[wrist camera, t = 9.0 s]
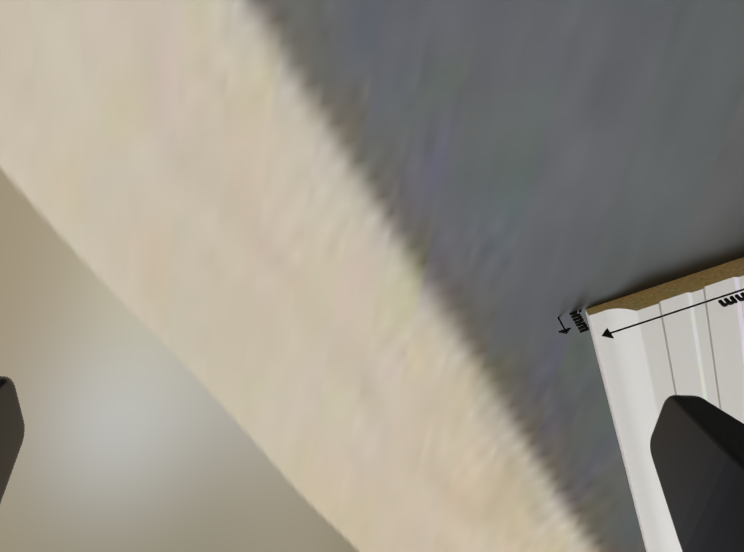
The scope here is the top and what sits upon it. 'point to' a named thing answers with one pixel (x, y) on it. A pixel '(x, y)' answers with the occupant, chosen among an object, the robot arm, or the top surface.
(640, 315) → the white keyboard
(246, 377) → the top surface
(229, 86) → the top surface
